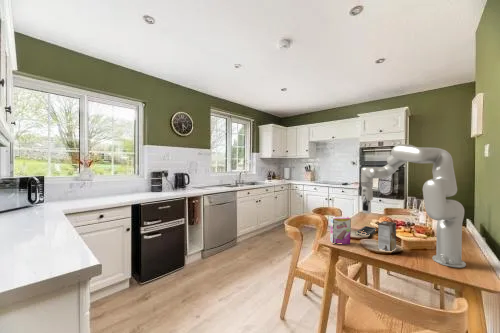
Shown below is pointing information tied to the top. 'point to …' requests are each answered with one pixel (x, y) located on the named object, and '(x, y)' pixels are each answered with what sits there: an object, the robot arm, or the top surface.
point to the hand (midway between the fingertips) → (366, 209)
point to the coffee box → (387, 236)
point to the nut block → (368, 208)
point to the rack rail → (367, 230)
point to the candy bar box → (340, 230)
